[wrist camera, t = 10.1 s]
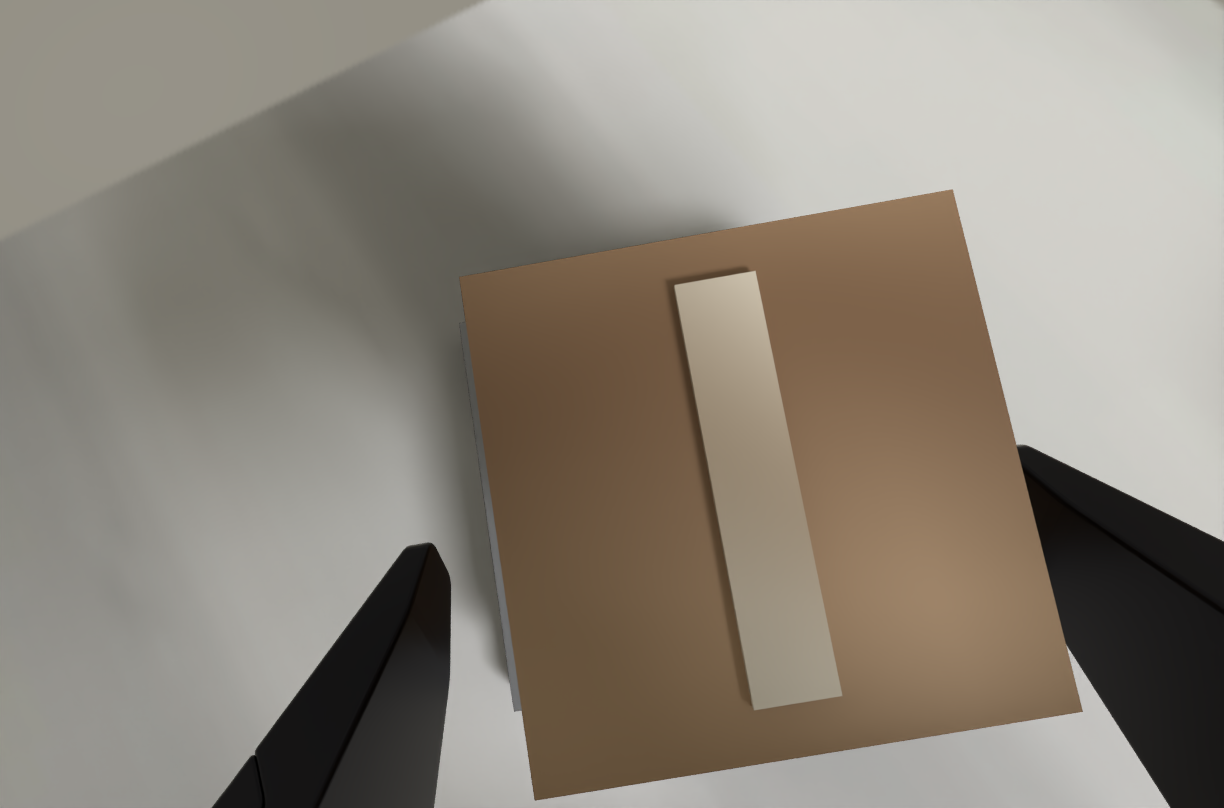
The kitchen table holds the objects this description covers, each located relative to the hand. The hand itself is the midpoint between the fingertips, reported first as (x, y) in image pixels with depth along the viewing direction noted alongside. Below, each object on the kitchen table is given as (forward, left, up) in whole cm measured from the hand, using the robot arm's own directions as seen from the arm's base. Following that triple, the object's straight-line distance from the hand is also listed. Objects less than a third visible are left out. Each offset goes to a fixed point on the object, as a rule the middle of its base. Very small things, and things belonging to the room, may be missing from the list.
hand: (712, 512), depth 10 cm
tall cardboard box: (+1, 0, -8) cm, 8 cm away
